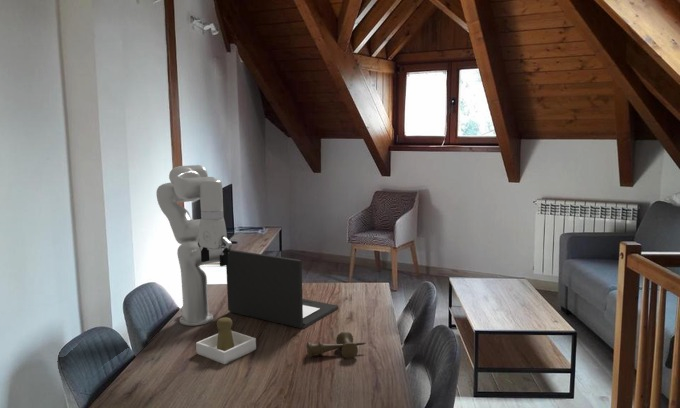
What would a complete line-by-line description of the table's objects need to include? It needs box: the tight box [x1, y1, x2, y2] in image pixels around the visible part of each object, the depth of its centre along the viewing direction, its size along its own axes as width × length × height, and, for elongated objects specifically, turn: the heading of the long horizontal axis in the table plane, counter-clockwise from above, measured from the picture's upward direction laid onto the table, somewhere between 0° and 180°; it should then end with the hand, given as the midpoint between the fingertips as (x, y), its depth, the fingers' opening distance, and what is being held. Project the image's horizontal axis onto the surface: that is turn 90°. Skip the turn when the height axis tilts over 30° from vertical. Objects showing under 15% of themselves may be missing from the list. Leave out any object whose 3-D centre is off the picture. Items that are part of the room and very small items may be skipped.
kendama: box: [306, 331, 366, 359], centre depth 177 cm, size 6×10×20 cm
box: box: [195, 330, 257, 365], centre depth 180 cm, size 14×14×4 cm
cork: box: [216, 316, 234, 351], centre depth 179 cm, size 6×6×11 cm
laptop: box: [225, 249, 339, 330], centre depth 217 cm, size 37×27×27 cm
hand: (214, 263), depth 186 cm, fingers open, 9 cm apart
